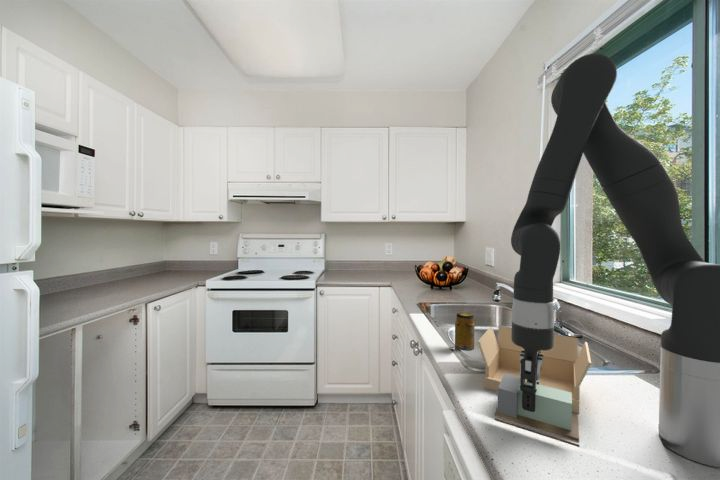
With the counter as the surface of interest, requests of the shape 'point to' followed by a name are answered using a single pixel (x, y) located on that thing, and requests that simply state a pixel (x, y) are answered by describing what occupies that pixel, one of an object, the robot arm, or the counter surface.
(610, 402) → the counter surface
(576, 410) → the carton
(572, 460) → the counter surface
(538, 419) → the box
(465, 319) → the condiment
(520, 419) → the board
